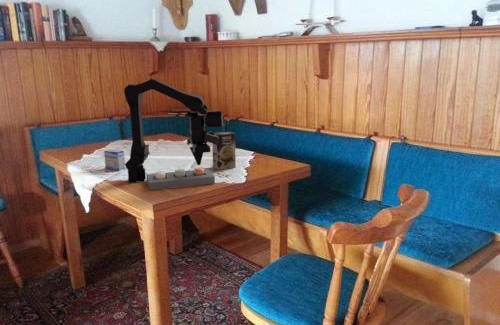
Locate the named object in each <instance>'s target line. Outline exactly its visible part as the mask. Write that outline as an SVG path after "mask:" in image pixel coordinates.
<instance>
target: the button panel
mask: <svg viewBox="0 0 500 325" xmlns="http://www.w3.org/2000/svg"><path fill="white" fill-rule="evenodd" d="M145 176H146V184H147V187H148V189H149V191H155V190H164V189H165V190H166V189H176V188H183V187H184V188H185V187H195V186H201V185H202V186H203V185H204V186H206V185H214V184H215V183H216V181H215V180H216V179H215V177H216V176H215V175H214V174H213V173H212V171H210V169H209V168H204V175H199V176H195V171H194V169H192V170H185V177H178V178H175V171H170V172H165V179H157V180H155V173H149V174H145Z"/></svg>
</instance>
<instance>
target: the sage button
mask: <svg viewBox="0 0 500 325" xmlns="http://www.w3.org/2000/svg"><path fill="white" fill-rule="evenodd" d="M185 171H186V170H185V169H176V170H174V172H175V178H178V177H185Z"/></svg>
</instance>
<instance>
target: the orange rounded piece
mask: <svg viewBox="0 0 500 325" xmlns="http://www.w3.org/2000/svg"><path fill="white" fill-rule="evenodd" d="M204 169H205V168H204V167H196V168H194V169H193V170H194V171H195V176H199V175H204Z"/></svg>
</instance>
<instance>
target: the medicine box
mask: <svg viewBox="0 0 500 325" xmlns="http://www.w3.org/2000/svg"><path fill="white" fill-rule="evenodd" d="M103 156H104V166H105V170H108V169H110V170H109V171H118V172H119V171H122V170H125V169H126V166H125V163H126V161H125V160H126V159H125V150H120V149H119V150H118V149H106V150H104V152H103Z"/></svg>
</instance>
